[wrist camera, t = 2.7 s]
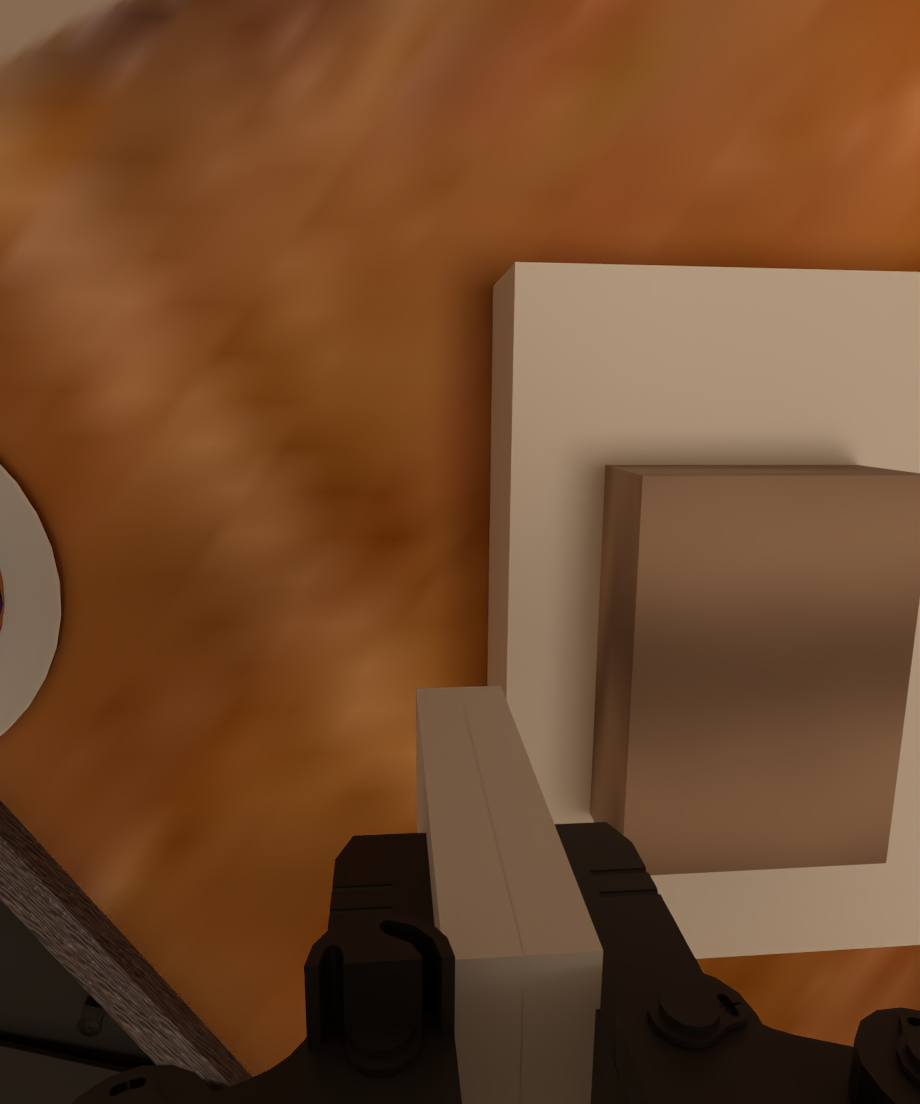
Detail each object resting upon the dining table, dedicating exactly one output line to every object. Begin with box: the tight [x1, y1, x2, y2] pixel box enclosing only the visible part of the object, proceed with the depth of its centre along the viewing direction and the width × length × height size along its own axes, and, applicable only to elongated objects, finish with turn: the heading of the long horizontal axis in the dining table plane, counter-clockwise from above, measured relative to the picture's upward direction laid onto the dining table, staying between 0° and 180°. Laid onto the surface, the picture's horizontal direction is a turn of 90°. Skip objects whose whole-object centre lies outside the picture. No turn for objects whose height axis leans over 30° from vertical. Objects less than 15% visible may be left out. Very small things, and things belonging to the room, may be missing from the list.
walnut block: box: [590, 465, 920, 875], centre depth 20 cm, size 10×7×3 cm
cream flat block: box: [487, 262, 920, 959], centre depth 24 cm, size 20×18×4 cm
